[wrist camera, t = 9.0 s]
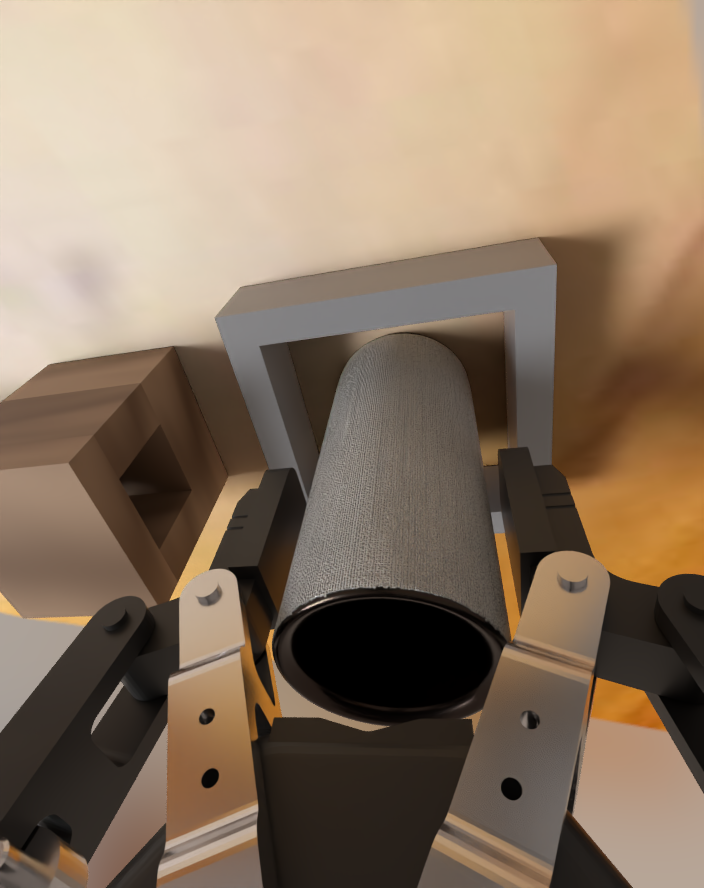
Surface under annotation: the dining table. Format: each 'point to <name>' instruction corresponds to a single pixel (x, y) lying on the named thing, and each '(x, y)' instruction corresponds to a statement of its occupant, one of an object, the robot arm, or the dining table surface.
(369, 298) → the grey open frame
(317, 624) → the grey cylinder
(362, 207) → the dining table surface
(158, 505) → the guide block
